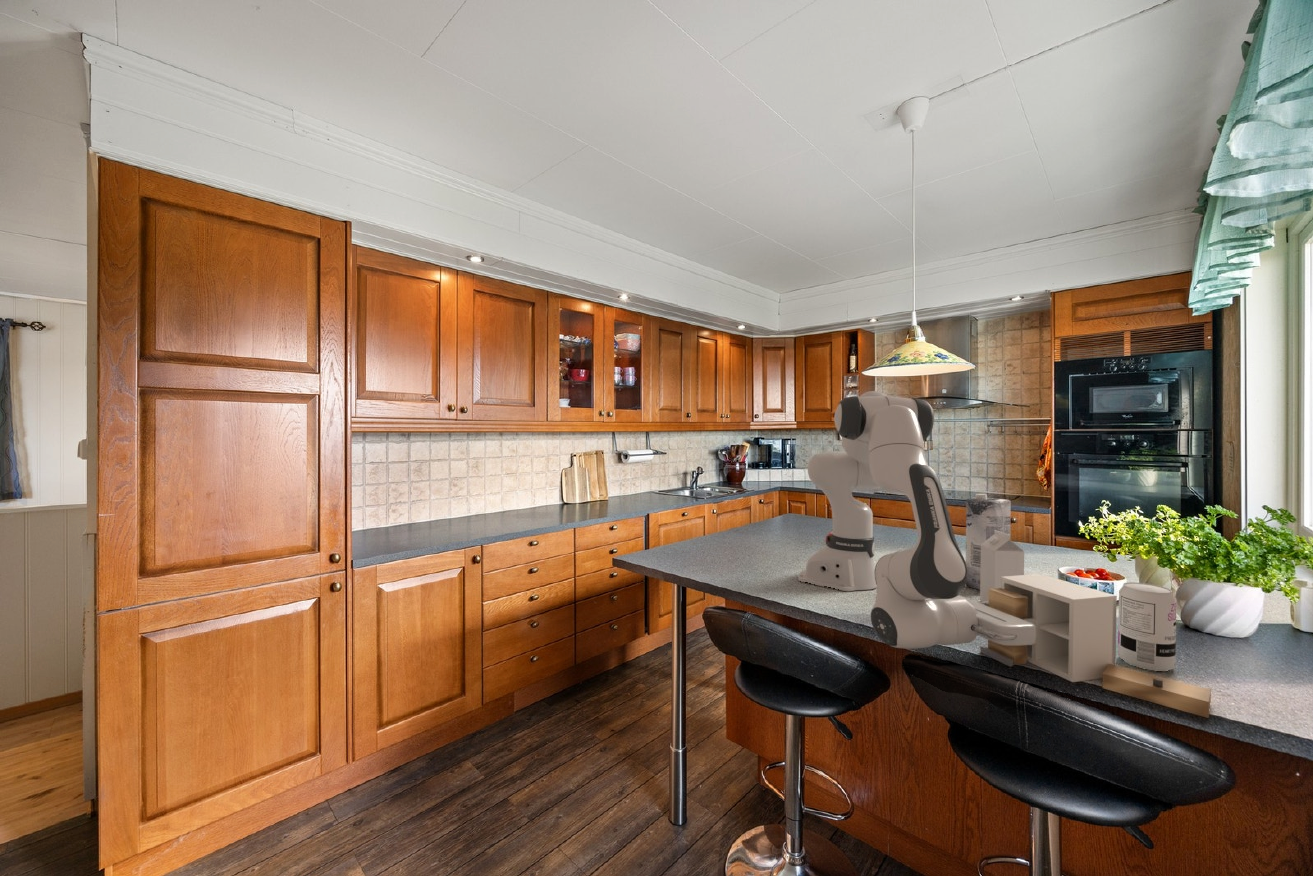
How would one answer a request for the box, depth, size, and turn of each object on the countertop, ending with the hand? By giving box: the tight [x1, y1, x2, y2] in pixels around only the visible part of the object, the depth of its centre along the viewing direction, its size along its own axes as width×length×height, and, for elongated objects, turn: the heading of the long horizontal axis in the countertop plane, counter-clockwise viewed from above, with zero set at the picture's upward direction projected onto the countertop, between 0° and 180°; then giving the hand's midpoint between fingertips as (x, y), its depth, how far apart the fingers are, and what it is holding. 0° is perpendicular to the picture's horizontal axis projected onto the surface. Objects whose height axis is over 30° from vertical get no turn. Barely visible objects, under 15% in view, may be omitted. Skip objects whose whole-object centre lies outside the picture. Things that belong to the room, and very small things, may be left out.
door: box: [1102, 664, 1212, 719], centre depth 91 cm, size 13×6×4 cm, turn 41°
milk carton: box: [979, 530, 1025, 602], centre depth 138 cm, size 7×7×19 cm
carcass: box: [979, 573, 1118, 683], centre depth 104 cm, size 16×15×15 cm
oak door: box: [987, 588, 1028, 666], centre depth 106 cm, size 4×6×13 cm, turn 14°
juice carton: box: [965, 493, 1012, 591], centre depth 153 cm, size 9×10×27 cm
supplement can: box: [1117, 581, 1178, 671], centre depth 104 cm, size 8×8×15 cm
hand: (1011, 614), depth 106 cm, fingers open, 8 cm apart
